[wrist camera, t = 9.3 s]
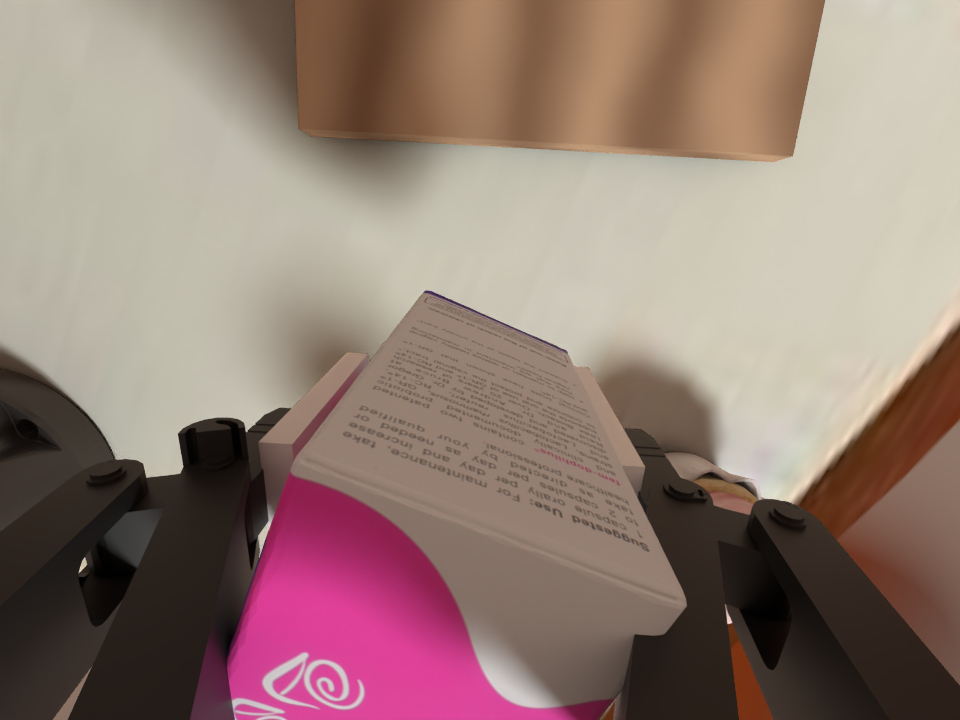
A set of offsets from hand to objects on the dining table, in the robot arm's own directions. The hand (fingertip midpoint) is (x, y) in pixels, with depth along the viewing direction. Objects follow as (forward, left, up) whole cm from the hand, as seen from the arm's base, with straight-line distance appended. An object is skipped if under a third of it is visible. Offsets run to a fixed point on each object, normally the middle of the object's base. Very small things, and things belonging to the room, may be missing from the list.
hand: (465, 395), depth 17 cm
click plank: (+3, +13, -11) cm, 18 cm away
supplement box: (0, 0, -1) cm, 1 cm away
